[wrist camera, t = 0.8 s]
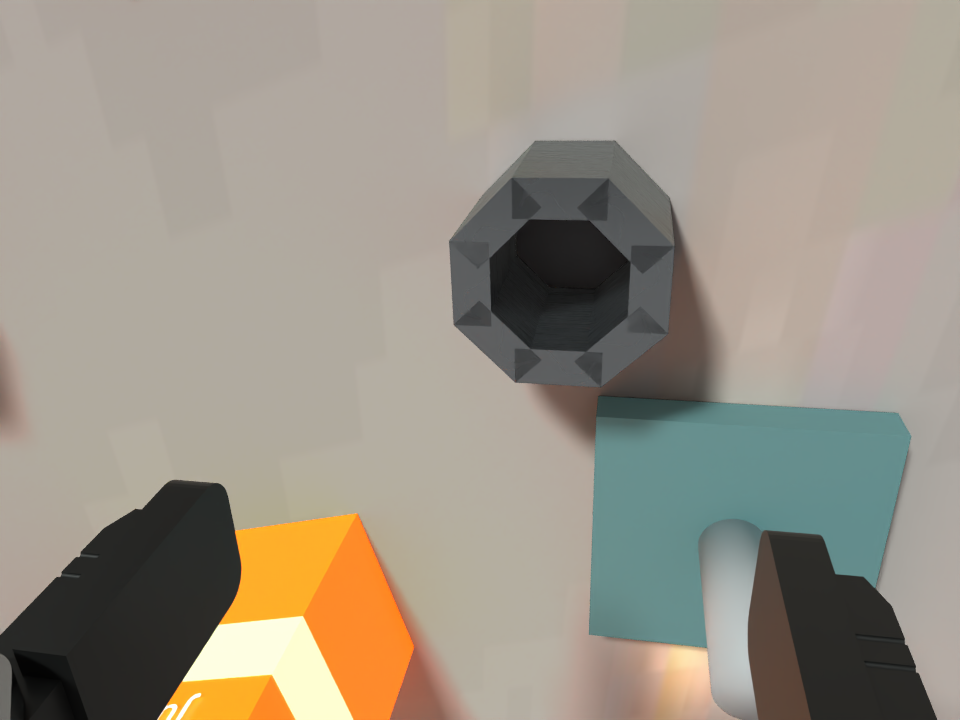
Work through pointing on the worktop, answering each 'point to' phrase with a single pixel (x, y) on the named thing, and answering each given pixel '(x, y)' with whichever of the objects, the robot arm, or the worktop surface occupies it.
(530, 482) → the worktop surface
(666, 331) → the tube
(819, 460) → the shaft stand
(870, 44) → the worktop surface
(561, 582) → the worktop surface
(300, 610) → the orange juice
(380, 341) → the worktop surface
